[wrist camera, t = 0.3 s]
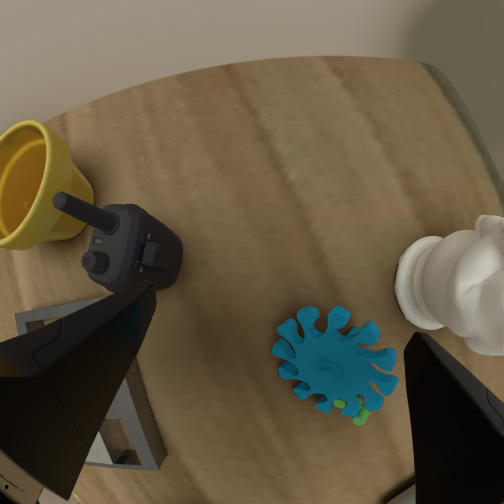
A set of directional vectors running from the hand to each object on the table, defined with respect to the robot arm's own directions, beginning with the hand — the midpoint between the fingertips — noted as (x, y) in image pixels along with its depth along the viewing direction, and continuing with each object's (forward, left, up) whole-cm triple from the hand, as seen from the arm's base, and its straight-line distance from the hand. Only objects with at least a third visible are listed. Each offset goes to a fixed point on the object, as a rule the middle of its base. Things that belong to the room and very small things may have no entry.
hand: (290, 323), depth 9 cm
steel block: (-10, +19, -15) cm, 26 cm away
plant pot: (+13, +18, -15) cm, 27 cm away
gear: (-6, -3, -15) cm, 17 cm away
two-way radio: (+5, +8, -15) cm, 18 cm away
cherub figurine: (-4, -15, -15) cm, 22 cm away
